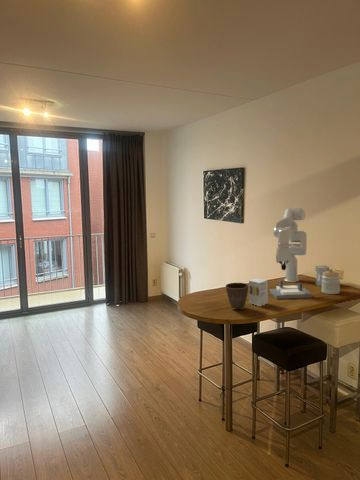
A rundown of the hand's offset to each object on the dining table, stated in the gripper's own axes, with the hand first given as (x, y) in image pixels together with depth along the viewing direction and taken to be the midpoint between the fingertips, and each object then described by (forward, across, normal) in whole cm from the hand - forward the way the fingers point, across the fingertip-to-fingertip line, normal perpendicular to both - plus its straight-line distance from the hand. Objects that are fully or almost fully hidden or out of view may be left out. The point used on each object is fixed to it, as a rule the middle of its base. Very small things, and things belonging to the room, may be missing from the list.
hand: (283, 269), depth 269 cm
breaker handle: (+13, -9, +11) cm, 19 cm away
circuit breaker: (+19, -39, -16) cm, 46 cm away
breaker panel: (+18, -3, +6) cm, 19 cm away
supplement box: (+17, +25, +24) cm, 39 cm away
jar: (+18, -34, +4) cm, 39 cm away
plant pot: (+17, +41, +32) cm, 54 cm away
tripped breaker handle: (+13, +2, +1) cm, 13 cm away
